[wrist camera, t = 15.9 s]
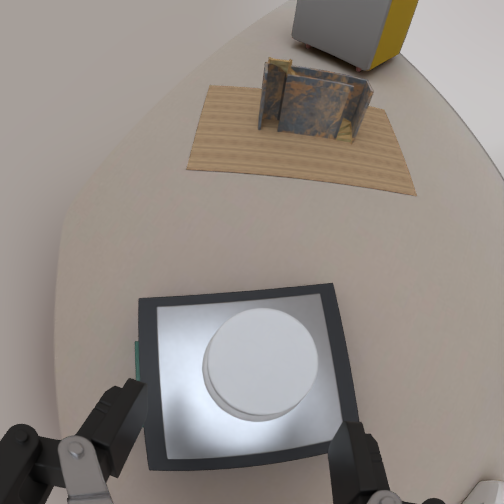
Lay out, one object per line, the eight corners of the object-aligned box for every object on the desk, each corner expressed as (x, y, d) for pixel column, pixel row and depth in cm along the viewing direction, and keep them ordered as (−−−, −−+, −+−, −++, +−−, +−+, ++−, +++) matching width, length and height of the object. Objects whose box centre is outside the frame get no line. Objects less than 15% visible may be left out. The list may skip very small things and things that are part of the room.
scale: (151, 463, 17) (142, 470, 15) (141, 309, 23) (133, 298, 20) (349, 441, 19) (362, 443, 17) (323, 294, 24) (333, 282, 22)
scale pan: (169, 457, 15) (166, 459, 15) (158, 310, 20) (156, 306, 19) (341, 436, 17) (345, 437, 16) (317, 296, 21) (320, 292, 21)
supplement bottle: (202, 348, 18) (185, 307, 11) (276, 334, 19) (309, 284, 12) (218, 423, 16) (211, 438, 9) (295, 406, 17) (344, 404, 10)
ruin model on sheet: (186, 169, 30) (177, 86, 21) (209, 85, 37) (209, 22, 29) (417, 196, 31) (459, 134, 22) (384, 109, 38) (406, 56, 30)
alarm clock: (334, 30, 54) (350, -37, 38) (397, 60, 50) (423, -10, 34) (284, 46, 46) (298, -43, 30) (363, 82, 42) (394, -15, 26)
